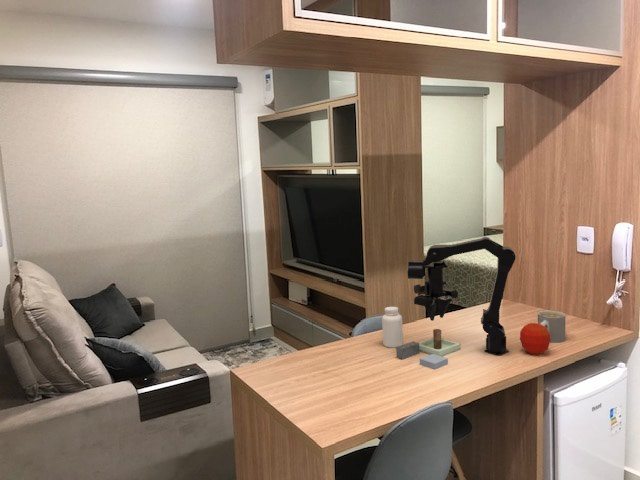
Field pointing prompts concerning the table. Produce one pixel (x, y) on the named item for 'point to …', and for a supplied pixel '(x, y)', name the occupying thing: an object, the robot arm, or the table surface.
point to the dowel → (437, 339)
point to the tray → (446, 349)
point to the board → (433, 361)
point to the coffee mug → (553, 324)
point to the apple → (535, 338)
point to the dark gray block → (407, 350)
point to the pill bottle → (392, 328)
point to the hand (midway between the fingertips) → (436, 319)
